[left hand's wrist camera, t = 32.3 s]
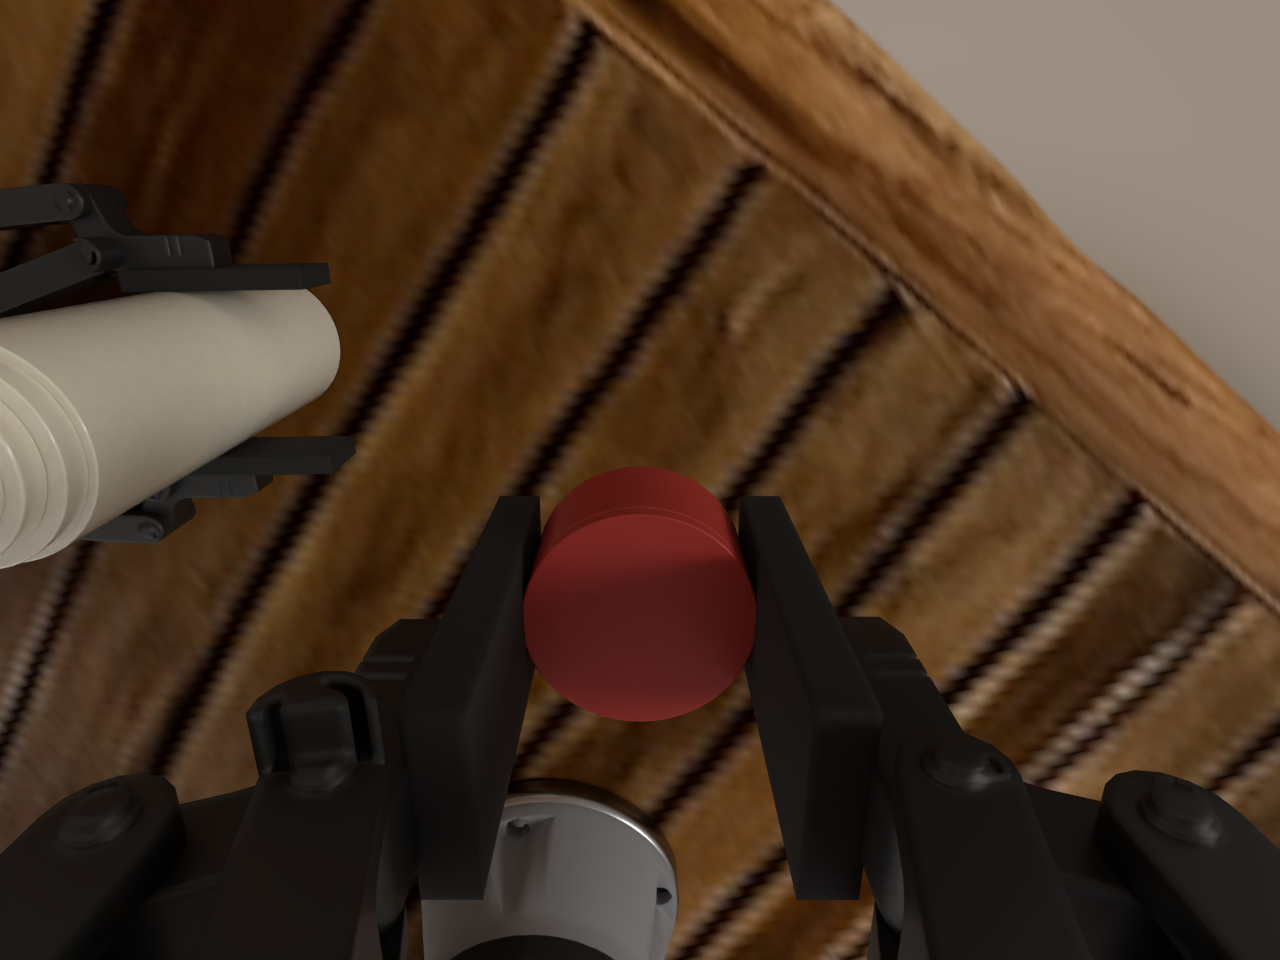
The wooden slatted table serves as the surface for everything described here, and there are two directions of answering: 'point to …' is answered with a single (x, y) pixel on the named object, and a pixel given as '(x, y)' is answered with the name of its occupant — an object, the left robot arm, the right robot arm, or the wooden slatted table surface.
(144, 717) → the wooden slatted table surface
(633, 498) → the cap
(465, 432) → the wooden slatted table surface
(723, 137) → the wooden slatted table surface
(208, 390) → the bottle
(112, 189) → the right robot arm
